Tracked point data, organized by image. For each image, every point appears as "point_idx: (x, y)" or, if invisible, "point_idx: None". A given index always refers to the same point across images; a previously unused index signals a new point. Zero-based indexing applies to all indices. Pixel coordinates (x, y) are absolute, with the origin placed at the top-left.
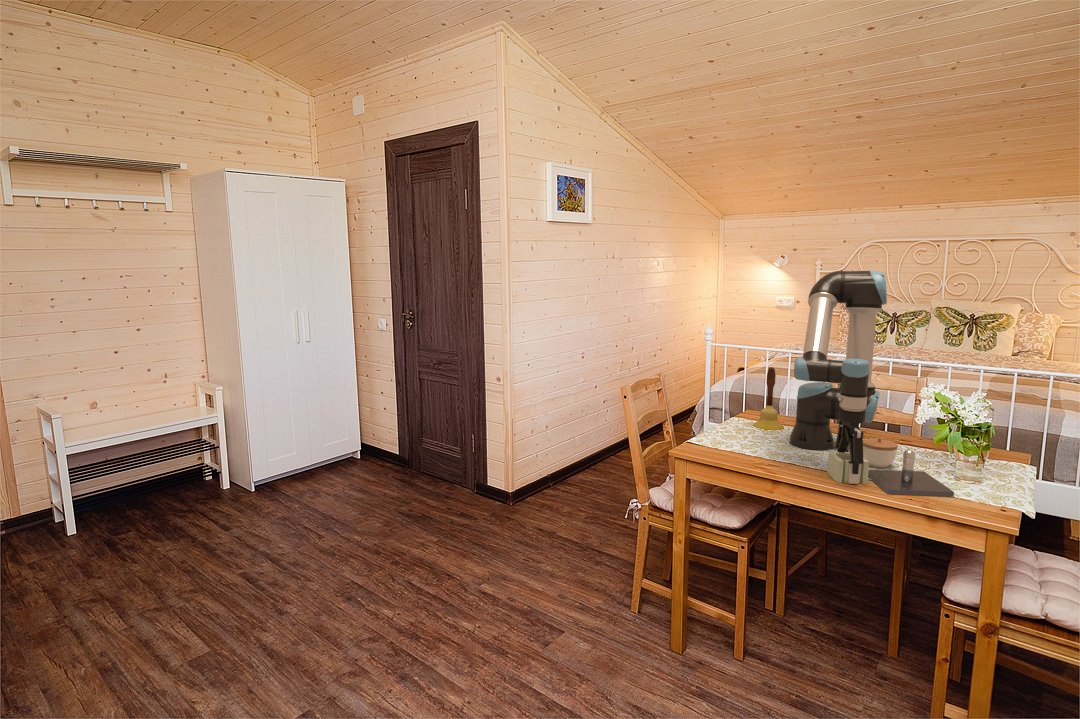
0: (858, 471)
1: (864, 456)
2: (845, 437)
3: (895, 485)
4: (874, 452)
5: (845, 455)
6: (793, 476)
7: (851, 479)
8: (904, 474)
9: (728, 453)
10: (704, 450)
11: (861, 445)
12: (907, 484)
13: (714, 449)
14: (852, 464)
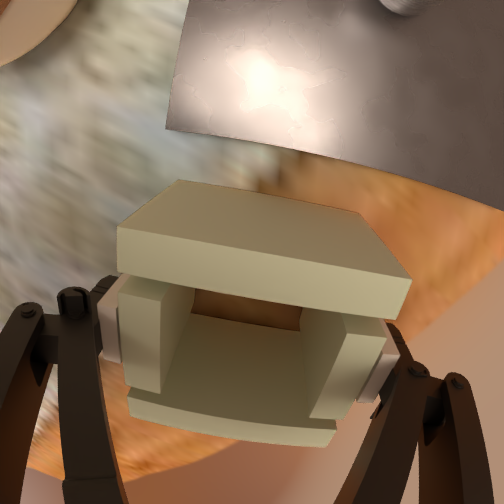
0: (402, 337)
1: (4, 64)
2: (127, 502)
3: (481, 130)
4: (24, 12)
5: (164, 343)
6: (221, 443)
7: None
8: (435, 4)
9: (46, 454)
10: (47, 471)
11: (482, 497)
12: (471, 49)
13: (31, 456)
14: (376, 386)
